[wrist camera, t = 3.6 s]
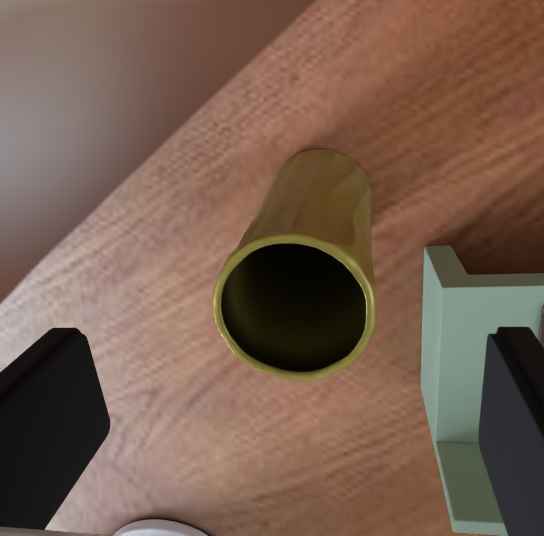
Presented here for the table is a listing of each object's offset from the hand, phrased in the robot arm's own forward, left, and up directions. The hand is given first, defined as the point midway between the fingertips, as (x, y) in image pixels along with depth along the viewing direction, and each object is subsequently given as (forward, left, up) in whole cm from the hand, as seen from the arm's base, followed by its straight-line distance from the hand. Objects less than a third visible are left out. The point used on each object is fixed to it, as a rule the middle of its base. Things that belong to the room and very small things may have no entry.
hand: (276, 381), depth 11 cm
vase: (0, 0, -19) cm, 19 cm away
